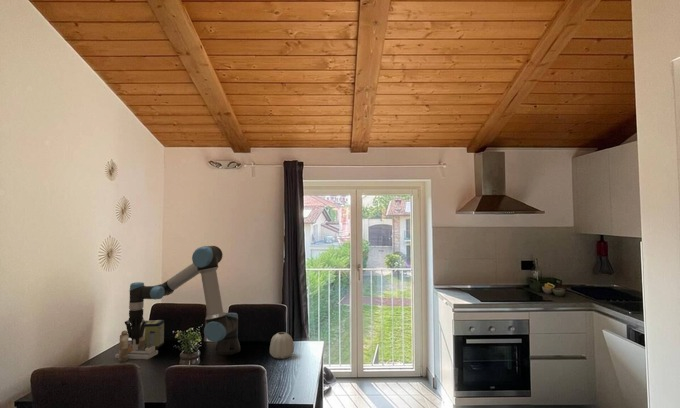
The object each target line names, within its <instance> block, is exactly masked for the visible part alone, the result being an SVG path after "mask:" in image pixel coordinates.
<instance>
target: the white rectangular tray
mask: <svg viewBox="0 0 680 408" xmlns="http://www.w3.org/2000/svg"><path fill="white" fill-rule="evenodd" d="M158 354H159V350H158V349H155V351H154V352H152V353H145V350H136V351H133V348H132V351H130V352H128V359H130V360H131V359H132V360H150V359H151V358H153V357H155V356H157V355H158ZM114 358H115V359H119V352H117V353H116V354H115V355H114Z"/></svg>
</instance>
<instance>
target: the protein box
mask: <svg viewBox="0 0 680 408" xmlns="http://www.w3.org/2000/svg"><path fill="white" fill-rule="evenodd" d="M146 321H147V323H146V325H145V348H147V347H148V346H150V345H153V346H155V350H158V349H160V348H161V347H162V346H163V345H164V344H165V340H164V339H165V320H164V319H157V320H152V319H151V320H146ZM141 324H142V322H141Z"/></svg>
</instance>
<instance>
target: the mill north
mask: <svg viewBox="0 0 680 408" xmlns="http://www.w3.org/2000/svg"><path fill="white" fill-rule="evenodd" d="M129 339H130V338H129V334H128V333H127V330H123V331H121V333H120V335H119V346H118V347H119V348H118V353H119V358H118V362H120V363H122V362H126V361H128V344H129Z"/></svg>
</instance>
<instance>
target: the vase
mask: <svg viewBox="0 0 680 408" xmlns="http://www.w3.org/2000/svg"><path fill="white" fill-rule="evenodd" d="M269 344H270V345H269V354H270V356H272V358H274V359H278V360H279V359H281V360H283V359H288V358H290V357H291V356H292V354H293V353H294V352H295V351H294V350H295V347H294V346H295V345H294V340H293V338H292V336H291V335H290V334H289V333H287V332H284V331H281V332H277V333H276V334H274V335H273V336H272V338H271V340H270V343H269Z"/></svg>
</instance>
